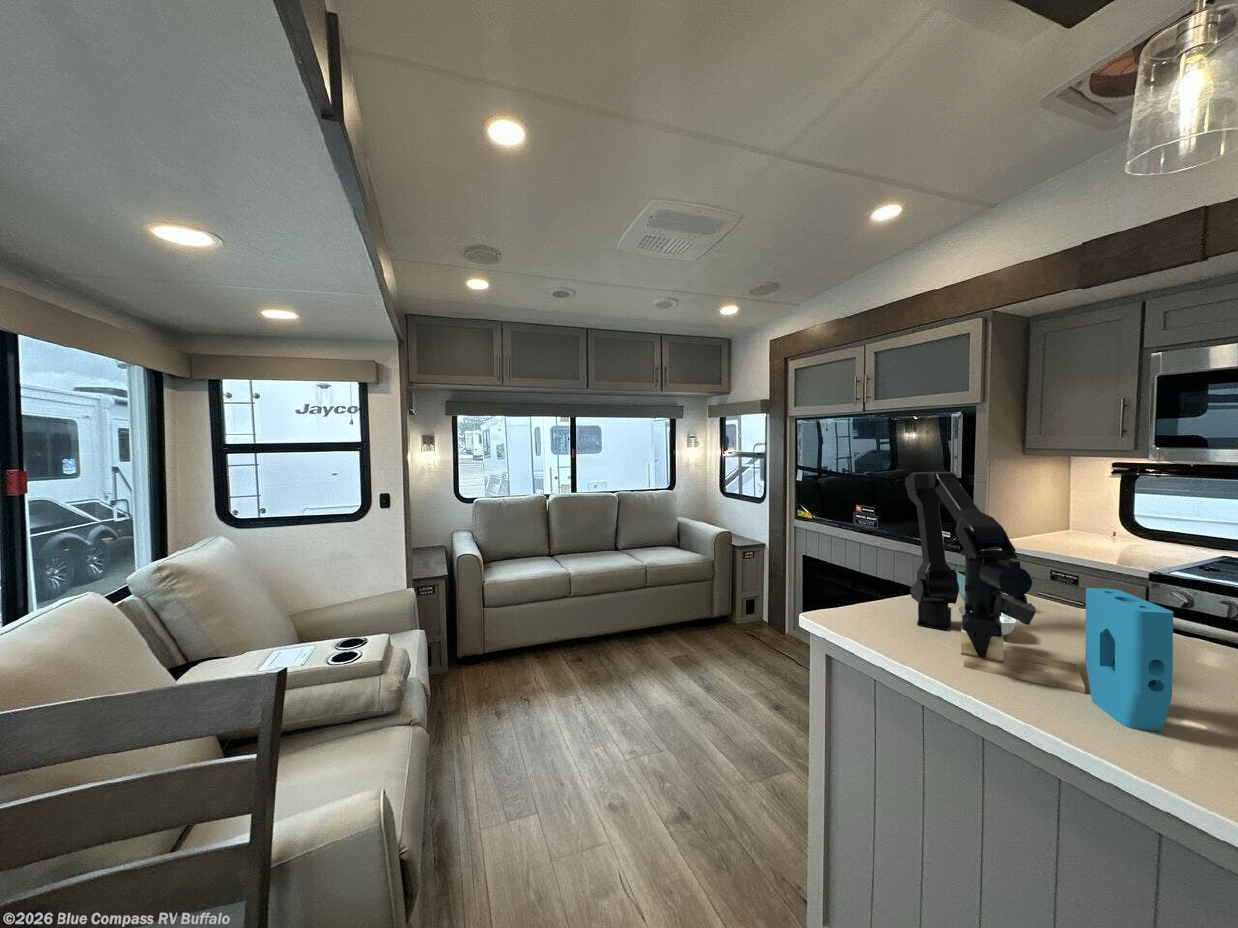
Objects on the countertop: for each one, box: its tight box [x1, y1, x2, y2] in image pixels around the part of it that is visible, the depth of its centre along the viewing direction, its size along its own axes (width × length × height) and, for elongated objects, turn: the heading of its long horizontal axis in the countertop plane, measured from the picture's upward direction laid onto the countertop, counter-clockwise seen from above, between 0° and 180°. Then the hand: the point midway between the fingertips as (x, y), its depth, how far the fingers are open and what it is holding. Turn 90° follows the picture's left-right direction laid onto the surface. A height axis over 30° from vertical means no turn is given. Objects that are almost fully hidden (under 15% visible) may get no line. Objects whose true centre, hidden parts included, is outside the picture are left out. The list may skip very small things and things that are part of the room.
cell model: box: [958, 605, 1018, 636], centre depth 112 cm, size 10×12×7 cm
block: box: [1085, 587, 1174, 732], centre depth 78 cm, size 12×5×20 cm, turn 164°
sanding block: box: [960, 629, 1005, 663], centre depth 98 cm, size 7×4×5 cm, turn 51°
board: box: [963, 649, 1086, 694], centre depth 95 cm, size 18×11×1 cm, turn 51°
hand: (982, 652), depth 98 cm, fingers open, 5 cm apart
